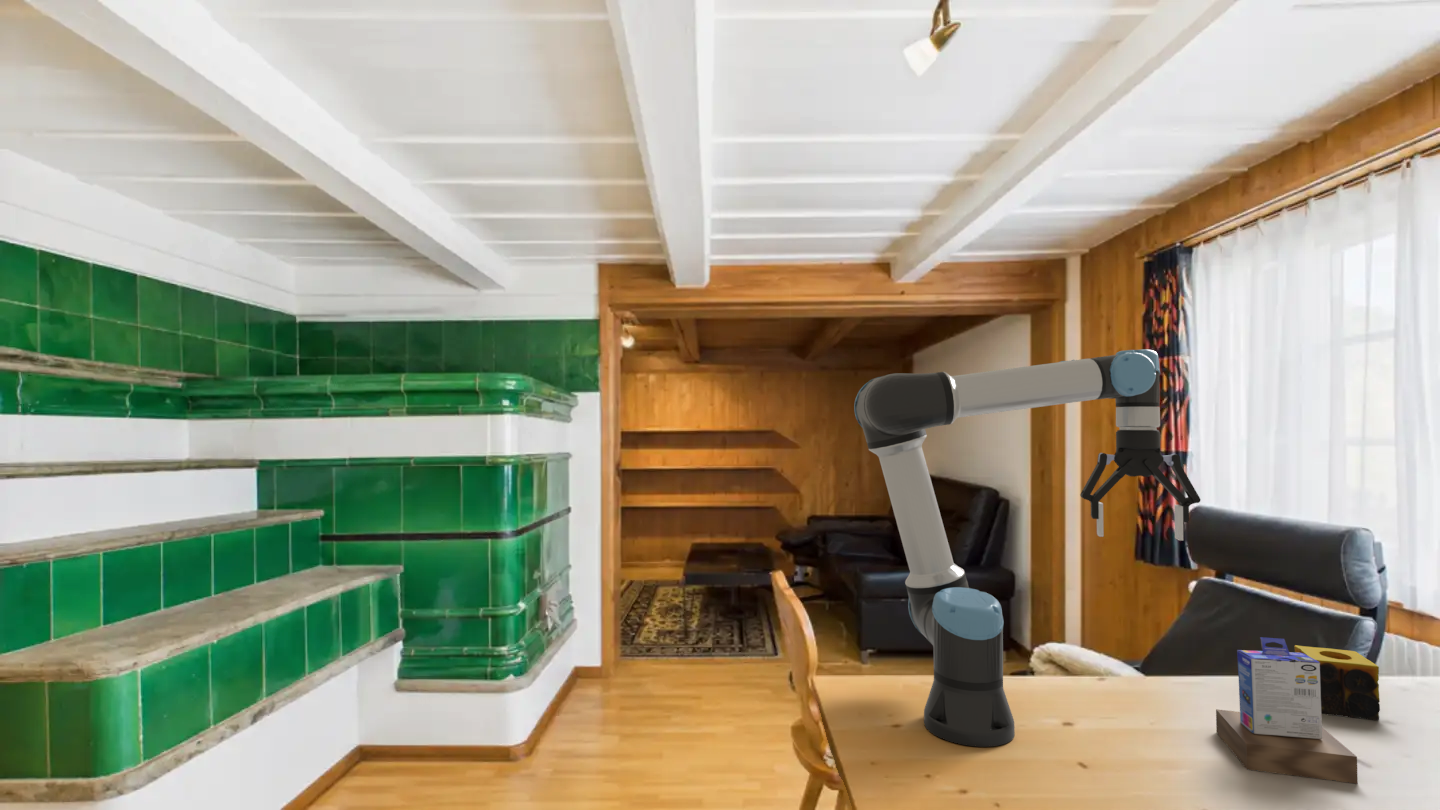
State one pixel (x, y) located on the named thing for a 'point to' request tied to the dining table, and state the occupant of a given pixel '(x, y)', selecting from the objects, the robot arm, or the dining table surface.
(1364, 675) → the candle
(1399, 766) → the dining table surface
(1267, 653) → the ink cartridge box
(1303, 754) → the walnut stand
